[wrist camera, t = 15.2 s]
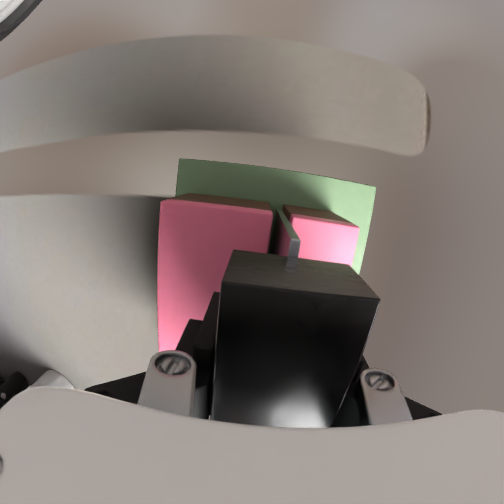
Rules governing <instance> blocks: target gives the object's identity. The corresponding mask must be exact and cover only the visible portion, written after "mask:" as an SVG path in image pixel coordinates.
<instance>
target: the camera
mask: <svg viewBox="0 0 504 504" xmlns="http://www.w3.org/2000/svg"><path fill="white" fill-rule="evenodd" d="M28 387H29V383H28V381H27V380H26V379H25V377H24V376H23V375H22V374H20V373H19V372H14V373H13V374H12V375H11V376H10V377H9V378H8V379H7V380H6V381H5V382H4V383H3V384H2V382H1V381H0V409H1V408H2V407H3V406H4V405H5V404H6V403H7V402H8V401H10V399H11V398H12V397H13V396H14V395H16V394H18V393H20V392H22V391H24V390H26V389H27V388H28Z"/></svg>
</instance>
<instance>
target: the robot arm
mask: <svg viewBox="0 0 504 504" xmlns="http://www.w3.org/2000/svg"><path fill="white" fill-rule="evenodd" d="M23 1H24V0H0V23H1V22H2V21H3V20H4V19H6V18H7V17H8V16H9V15H10V14H11V13H12V12H13V11H14V10H15V9H16V8H17V7H18V6H19V5H20V4H21V3H22V2H23ZM219 298H220V292H215V291H214V293H213V295H212V298H211V300H210V303H209V306H208V308H207V311H206V313H205V316H204V319H203V321H202V320H196V319H189V321H188V323H187V325H186V327H185V329H184V331H183V334H182V336H181V338H180V340H179V342H178V344H177V347H176V349H175V350H165V351H161V352H158V353H156V354H155V355H154V356H152V358H151V360H150V362H149V366H148V369H147V371H146V372H143V373H139V374H136V375H133V376H129V377H125V378H122V379H118V380H114V381H111V382H107V383H103V384H99V385H95V386H92V387H89V388H86V389H85V390H78V389H72V388H67V387H54V386H40V387H33V388H29V389H26V390H24V391H22V392H20V393H18V394H16V395H14V396H13V397H12V398H11V399H10V401H8V402H7V403H6V404H5V405H4V406H3V407H2V408H1V409H0V504H504V413H502V412H498V411H494V410H469V411H461V412H456V413H451V414H445V415H442V414H441V413H439V412H437V411H434V410H432V409H430V408H428V407H426V406H424V405H421V404H419V403H417V402H415V401H413V400H411V399H409V398H407V397H405V396H404V394H403V392H402V389H401V386H400V384H399V381H398V380H397V379H396V377H395V376H394V375H393V374H392V373H390V372H388V371H386V370H383V369H379V368H369V366H368V364H367V363H366V360H365V359H364V357H363V355H362V357H361V359H360V362H359V365H358V367H357V370H356V372H355V375H354V377H353V379H352V382H351V384H350V387H349V389H348V391H347V393H346V396H345V398H344V400H343V402H342V405H341V407H340V409H339V411H338V413H337V415H336V417H335V419H334V422H333V424H332V426H331V428H295V427H272V426H259V425H247V424H238V423H229V422H221V421H214V420H208V419H209V415H211V400H212V385H213V371H214V357H215V345H216V332H217V321H218V309H219Z"/></svg>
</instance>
